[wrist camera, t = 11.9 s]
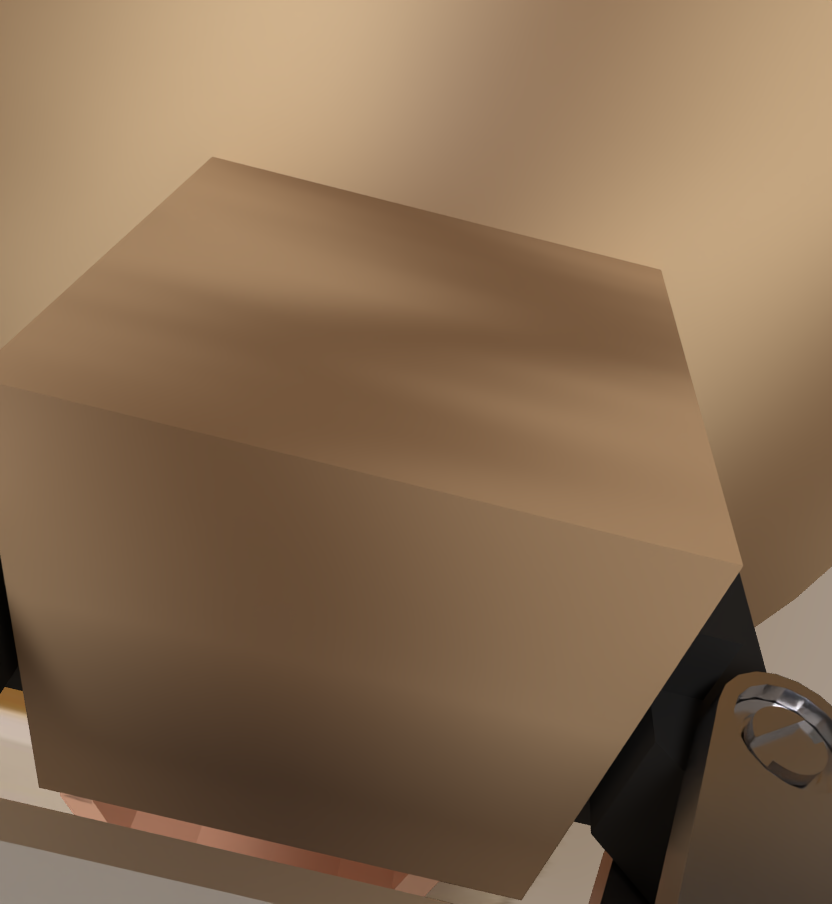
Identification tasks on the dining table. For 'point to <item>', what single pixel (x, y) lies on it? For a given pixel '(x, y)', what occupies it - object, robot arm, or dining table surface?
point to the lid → (400, 396)
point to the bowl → (248, 845)
